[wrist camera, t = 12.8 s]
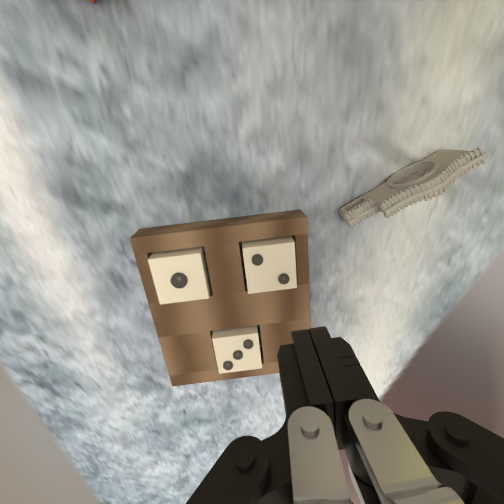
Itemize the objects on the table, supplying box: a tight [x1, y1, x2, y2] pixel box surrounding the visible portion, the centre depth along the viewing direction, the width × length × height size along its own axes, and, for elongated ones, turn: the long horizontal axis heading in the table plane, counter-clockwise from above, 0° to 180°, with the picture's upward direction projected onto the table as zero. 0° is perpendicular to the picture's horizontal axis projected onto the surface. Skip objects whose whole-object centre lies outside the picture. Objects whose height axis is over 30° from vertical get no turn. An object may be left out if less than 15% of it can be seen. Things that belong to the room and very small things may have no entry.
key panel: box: [130, 210, 311, 386], centre depth 32 cm, size 17×19×3 cm
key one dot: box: [148, 246, 211, 304], centre depth 29 cm, size 5×5×4 cm
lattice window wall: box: [338, 146, 488, 228], centre depth 26 cm, size 12×2×6 cm, turn 122°
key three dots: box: [212, 325, 262, 374], centre depth 33 cm, size 5×5×4 cm
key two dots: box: [242, 236, 297, 294], centre depth 29 cm, size 5×5×4 cm
